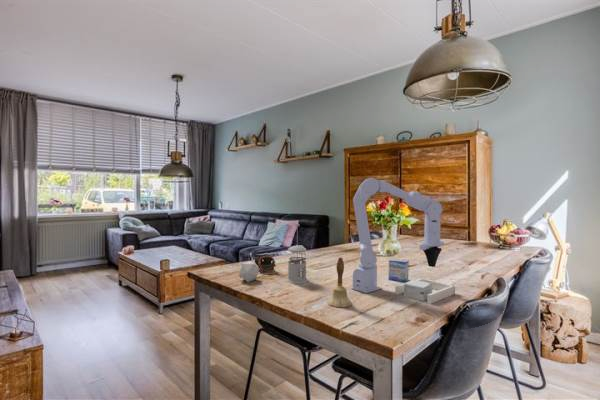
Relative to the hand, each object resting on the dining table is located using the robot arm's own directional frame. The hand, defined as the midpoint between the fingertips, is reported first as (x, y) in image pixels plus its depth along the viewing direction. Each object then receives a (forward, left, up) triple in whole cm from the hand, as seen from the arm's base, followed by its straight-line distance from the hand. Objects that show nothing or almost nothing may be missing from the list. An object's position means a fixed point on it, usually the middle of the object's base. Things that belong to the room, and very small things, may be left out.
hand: (431, 266), depth 127 cm
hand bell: (-38, +13, -10) cm, 41 cm away
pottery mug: (-33, +68, -10) cm, 76 cm away
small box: (-9, 0, -10) cm, 14 cm away
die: (-48, +58, -10) cm, 76 cm away
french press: (-31, +45, -10) cm, 55 cm away
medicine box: (+4, +18, -10) cm, 21 cm away
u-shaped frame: (-5, 0, -10) cm, 11 cm away
